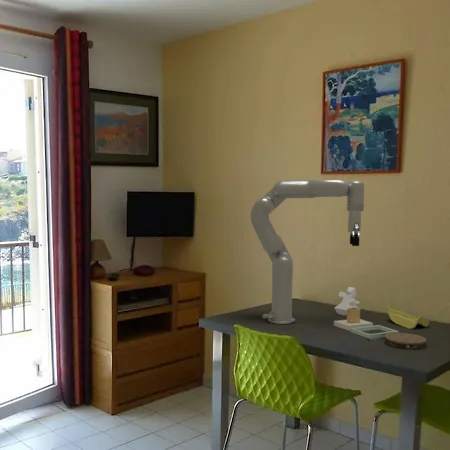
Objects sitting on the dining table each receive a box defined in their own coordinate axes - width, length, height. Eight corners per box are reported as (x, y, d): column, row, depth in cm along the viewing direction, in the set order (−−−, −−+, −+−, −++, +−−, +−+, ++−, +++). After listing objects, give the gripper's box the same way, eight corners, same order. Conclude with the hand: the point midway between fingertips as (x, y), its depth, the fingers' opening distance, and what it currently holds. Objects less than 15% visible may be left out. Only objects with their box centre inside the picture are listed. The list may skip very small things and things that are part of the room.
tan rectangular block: (351, 327, 236) (351, 309, 236) (346, 326, 239) (347, 308, 238) (359, 326, 238) (360, 308, 238) (355, 325, 241) (355, 307, 241)
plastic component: (431, 322, 244) (418, 314, 239) (425, 337, 243) (412, 329, 238) (399, 310, 261) (386, 303, 256) (393, 324, 260) (380, 317, 256)
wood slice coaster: (381, 339, 222) (381, 332, 222) (420, 340, 221) (420, 333, 221) (389, 349, 207) (389, 342, 207) (431, 351, 205) (431, 343, 205)
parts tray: (369, 341, 218) (370, 335, 218) (350, 334, 228) (350, 328, 228) (398, 337, 225) (398, 331, 225) (378, 330, 236) (378, 325, 236)
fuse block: (348, 332, 231) (348, 325, 231) (333, 327, 240) (333, 321, 240) (372, 329, 237) (372, 322, 237) (357, 324, 246) (357, 318, 246)
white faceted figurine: (352, 318, 260) (353, 290, 259) (331, 313, 271) (331, 286, 270) (363, 316, 265) (364, 289, 264) (342, 311, 276) (343, 285, 275)
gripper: (345, 207, 253) (344, 243, 254) (348, 208, 236) (347, 246, 237) (361, 207, 252) (360, 243, 253) (366, 208, 235) (365, 246, 236)
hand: (354, 245), depth 245 cm, fingers open, 9 cm apart
